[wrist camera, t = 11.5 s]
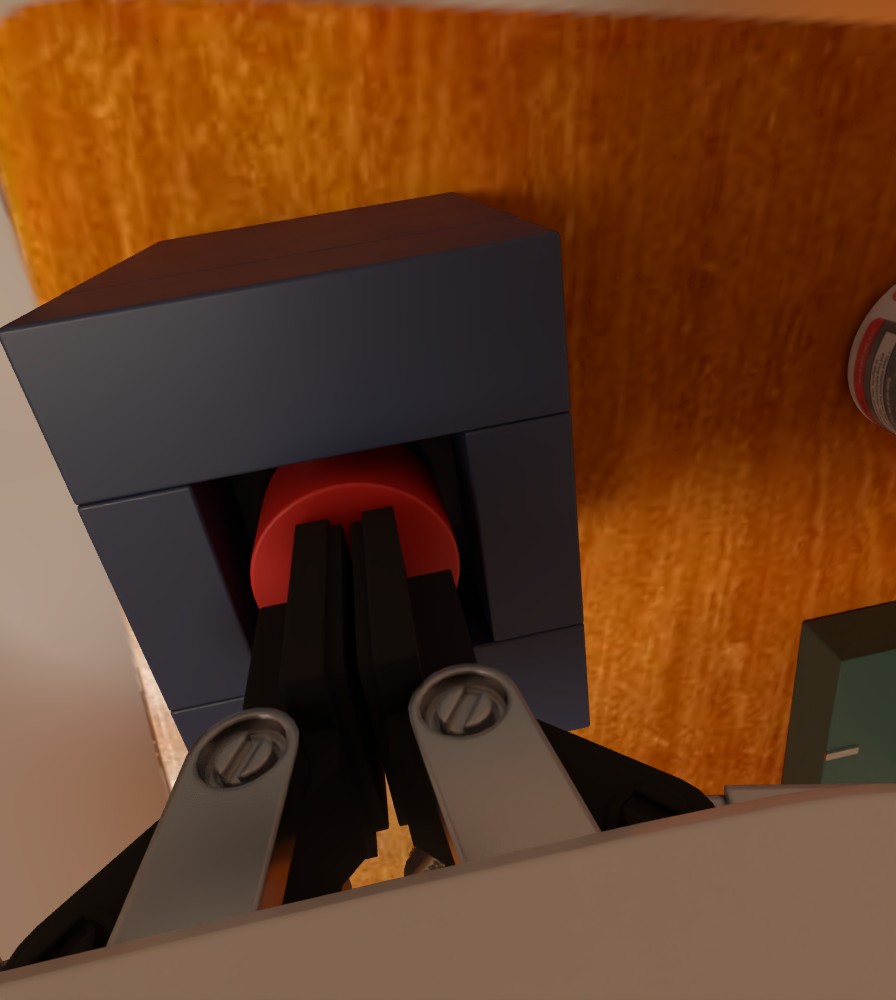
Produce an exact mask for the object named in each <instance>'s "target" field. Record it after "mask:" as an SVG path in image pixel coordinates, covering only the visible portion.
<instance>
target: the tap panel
mask: <svg viewBox="0 0 896 1000" xmlns="http://www.w3.org/2000/svg"><path fill="white" fill-rule="evenodd" d="M839 783H888V784H896V602H893V603H888V604H883V605H879V606H874V607H870V608H865V609H861V610H856V611H851V612H847V613H842V614H838V615H833V616H828V617H824V618H819V619H815V620H810V621H805V622H803V624H802V632H801V639H800V647H799V655H798V662H797V670H796V677H795V685H794V693H793V700H792V708H791V716H790V723H789V731H788V738H787V746H786V754H785V761H784V769H783V777H782V784H839Z"/></svg>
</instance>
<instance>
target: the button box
mask: <svg viewBox="0 0 896 1000" xmlns="http://www.w3.org/2000/svg"><path fill="white" fill-rule="evenodd" d="M0 342H1V344H2V346H3V348H4V350H5V352H6V355H7V357H8V359H9V361H10V363H11V366H12V368H13V370H14V372H15V374H16V376H17V378H18V381H19V383H20V385H21V387H22V389H23V392H24V394H25V396H26V398H27V400H28V403H29V405H30V407H31V409H32V411H33V413H34V416H35V418H36V420H37V422H38V424H39V426H40V429H41V431H42V433H43V435H44V437H45V440H46V442H47V444H48V446H49V448H50V450H51V453H52V455H53V457H54V459H55V461H56V463H57V466H58V468H59V470H60V472H61V475H62V477H63V479H64V481H65V483H66V485H67V487H68V490H69V492H70V494H71V496H72V498H73V501H74V502H75V504H76V505H79V506H78V512H79V514H80V516H81V518H82V521H83V523H84V525H85V527H86V530H87V532H88V534H89V536H90V538H91V540H92V543H93V545H94V547H95V549H96V551H97V554H98V556H99V558H100V560H101V562H102V564H103V567H104V569H105V571H106V573H107V575H108V578H109V580H110V582H111V584H112V586H113V588H114V591H115V593H116V595H117V597H118V599H119V601H120V604H121V606H122V608H123V610H124V612H125V615H126V617H127V619H128V621H129V623H130V625H131V628H132V630H133V632H134V634H135V636H136V639H137V641H138V643H139V645H140V647H141V649H142V652H143V654H144V656H145V658H146V660H147V662H148V665H149V667H150V669H151V671H152V673H153V676H154V678H155V680H156V682H157V684H158V686H159V689H160V691H161V693H162V695H163V697H164V700H165V702H166V704H167V706H168V708H169V710H171V715H172V717H173V719H174V721H175V724H176V726H177V728H178V730H179V732H180V734H181V737H182V739H183V741H184V743H185V745H186V748H187V750H188V752H189V751H190V749H191V747H192V746H193V744H194V742H195V741H196V740H197V739H198V738H199V737H200V736H201V735H202V734H203V733H204V732H205V731H206V730H207V729H208V728H209V727H211V726H212V725H214V724H215V723H217V722H218V721H220V720H221V719H223V718H225V717H227V716H230V715H232V714H234V713H236V712H239V711H242V709H243V703H244V697H245V691H246V685H247V679H248V673H249V667H250V661H251V655H252V649H253V643H254V637H255V631H256V625H257V619H258V614H259V610H260V609H259V607H258V605H257V602H256V600H255V598H254V595H253V591H252V587H251V579H250V566H251V558H252V553H253V548H254V543H255V538H256V533H257V528H258V522H259V517H260V512H261V507H262V502H263V498H264V494H265V490H266V488H267V485H268V483H269V481H270V479H271V477H272V476H273V474H274V472H275V471H276V470H277V468H278V467H280V466H286V465H291V464H296V463H301V462H306V461H312V460H317V459H322V458H327V457H333V456H338V455H343V454H348V453H353V452H359V451H364V450H369V449H374V448H379V447H385V446H390V445H395V444H401V445H403V446H405V447H406V448H408V449H409V450H411V451H412V452H413V453H415V454H416V455H417V456H418V457H419V458H420V459H421V460H422V461H423V462H424V463H425V464H426V466H427V467H428V468H429V469H430V471H431V473H432V474H433V476H434V478H435V479H436V482H437V484H438V487H439V489H440V492H441V496H442V499H443V502H444V505H445V508H446V512H447V515H448V518H449V521H450V524H451V527H452V531H453V534H454V537H455V540H456V543H457V548H458V552H459V558H460V574H459V581H458V585H457V592H458V596H459V600H460V603H461V607H462V610H463V614H464V618H465V621H466V625H467V628H468V632H469V635H470V639H471V643H472V646H473V650H474V653H475V657H476V661H477V664H484V665H488V666H492V667H495V668H497V669H499V670H500V671H502V672H504V673H506V674H507V675H508V676H509V677H510V678H511V679H512V681H513V682H514V683H515V684H516V686H517V687H518V689H519V691H520V692H521V694H522V696H523V698H524V699H525V701H526V703H527V704H528V706H529V708H530V710H531V711H532V713H533V715H534V717H535V718H536V719H539V720H541V721H543V722H546V723H548V724H551V725H553V726H555V727H558V728H560V729H563V730H565V731H571V730H576V729H580V728H585V727H588V726H589V725H590V718H589V701H588V685H587V668H586V652H585V635H584V624H583V620H584V619H583V602H582V586H581V569H580V553H579V536H578V520H577V503H576V487H575V470H574V454H573V437H572V421H571V413H570V412H569V410H570V390H569V374H568V357H567V341H566V324H565V308H564V292H563V275H562V259H561V242H560V235H559V233H558V232H556V231H553V230H551V229H548V228H545V227H543V226H540V225H537V224H535V223H532V222H529V221H527V220H524V219H521V218H518V217H517V216H515V215H512V214H509V213H507V212H504V211H501V210H499V209H496V208H493V207H490V206H488V205H485V204H482V203H480V202H477V201H474V200H472V199H469V198H466V197H463V196H461V195H458V194H455V193H453V192H450V193H444V194H439V195H433V196H427V197H421V198H415V199H409V200H403V201H397V202H391V203H385V204H379V205H373V206H367V207H361V208H355V209H349V210H344V211H338V212H332V213H326V214H320V215H314V216H308V217H302V218H296V219H290V220H284V221H278V222H272V223H266V224H260V225H254V226H248V227H243V228H237V229H231V230H225V231H219V232H213V233H207V234H201V235H195V236H189V237H183V238H177V239H171V240H165V241H159V242H157V243H156V244H154V245H152V246H150V247H148V248H146V249H144V250H143V251H141V252H139V253H137V254H135V255H133V256H131V257H130V258H128V259H126V260H124V261H122V262H120V263H118V264H117V265H115V266H113V267H111V268H109V269H107V270H106V271H104V272H102V273H100V274H98V275H96V276H94V277H93V278H91V279H89V280H87V281H85V282H83V283H81V284H80V285H78V286H76V287H74V288H72V289H70V290H68V291H67V292H65V293H63V294H61V295H60V296H58V297H56V298H55V299H53V300H51V301H49V302H47V303H45V304H43V305H42V306H40V307H38V308H36V309H34V310H32V311H31V312H29V313H27V314H25V315H23V316H21V317H20V318H18V319H16V320H14V321H12V322H10V323H9V324H7V325H5V326H3V327H1V328H0Z"/></svg>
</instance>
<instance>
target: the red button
mask: <svg viewBox="0 0 896 1000" xmlns="http://www.w3.org/2000/svg"><path fill="white" fill-rule="evenodd" d="M389 506H393V509H394V514H395V519H396V523H397V528H398V533H399V538H400V543H401V548H402V552H403V557H404V562H405V567H406V572H407V577H413V576H418V575H423V574H428V573H433V572H438V571H443V570H448V569H451V571H452V575H453V578H454V582H455V585H456V589H457V585H458V581H459V574H460V558H459V552H458V548H457V543H456V540H455V537H454V534H453V531H452V527H451V524H450V521H449V518H448V515H447V512H446V508H445V505H444V502H443V499H442V496H441V492H440V489H439V487H438V484H437V482H436V479H435V478H434V476H433V474H432V473H431V471H430V469H429V468H428V467H427V466H426V464H425V463H424V462H423V461H422V460H421V459H420V458H419V457H418V456H417V455H416V454H415V453H413V452H412V451H411V450H409V449H408V448H406V447H405V446H403V445H401V444H395V445H390V446H385V447H379V448H374V449H369V450H364V451H359V452H353V453H348V454H343V455H338V456H333V457H327V458H322V459H317V460H312V461H306V462H301V463H296V464H291V465H286V466H280V467H278V468H277V470H276V471H275V472H274V474H273V476H272V477H271V479H270V481H269V483H268V485H267V488H266V490H265V494H264V498H263V502H262V507H261V512H260V517H259V522H258V528H257V533H256V538H255V543H254V548H253V553H252V558H251V566H250V579H251V587H252V591H253V595H254V598H255V600H256V602H257V605H258V607H259V609H261V608H262V607H266V606H271V605H276V604H281V603H286V602H287V598H288V588H289V579H290V570H291V560H292V551H293V541H294V532H295V526H296V525H297V524H302V523H307V522H312V521H317V520H323V519H328V520H329V522H330V525H331V526H335V525H340V524H342V526H343V529H344V533H345V537H346V541H347V545H348V549H349V553H350V557H351V561H352V565H353V560H352V537H351V522H355V521H360V520H362V512H363V511H368V510H373V509H378V508H383V507H389Z"/></svg>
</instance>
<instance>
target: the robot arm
mask: <svg viewBox="0 0 896 1000" xmlns="http://www.w3.org/2000/svg"><path fill="white" fill-rule="evenodd" d="M351 537H352V560H353V565H352V561H351V557H350V553H349V549H348V545H347V541H346V537H345V533H344V529H343V526H342V524H340V525H335V526H331V525H330V522H329V520H328V519H323V520H317V521H312V522H307V523H302V524H297V525H296V526H295V532H294V541H293V551H292V560H291V570H290V579H289V588H288V598H287V602H286V603H281V604H276V605H271V606H266V607H262V608H261V609H260V610H259V614H258V619H257V625H256V631H255V637H254V643H253V649H252V655H251V661H250V667H249V673H248V679H247V685H246V691H245V697H244V703H243V709H242V711H239V712H236V713H234V714H232V715H230V716H227V717H225V718H223V719H221V720H220V721H218V722H217V723H215V724H214V725H212V726H211V727H209V728H208V729H207V730H206V731H205V732H204V733H203V734H202V735H201V736H200V737H199V738H198V739H197V740H196V741H195V742H194V744H193V746H192V747H191V749H190V751H189V752H188V754H187V756H186V758H185V761H184V763H183V765H182V768H181V770H180V772H179V775H178V777H177V780H176V782H175V784H174V787H173V789H172V791H171V794H170V796H169V798H168V801H167V803H166V806H165V808H164V810H163V813H162V815H161V818H160V819H159V820H158V821H157V822H155V823H154V824H153V825H152V826H151V827H150V828H149V829H147V830H146V831H145V832H144V833H143V834H142V835H141V836H140V837H138V838H137V839H136V840H135V841H134V842H133V843H132V844H130V845H129V846H128V847H127V848H126V849H125V850H124V851H122V852H121V853H120V854H119V855H118V856H117V857H116V858H114V859H113V860H112V861H111V862H110V863H109V864H108V865H106V866H105V867H104V868H103V869H102V870H101V871H100V872H98V873H97V874H96V875H95V876H94V877H93V878H92V879H91V880H90V881H88V882H87V883H86V884H85V885H84V886H83V887H82V888H80V889H79V890H78V891H77V892H76V893H75V894H73V896H71V897H70V898H69V899H68V900H67V901H65V902H64V903H63V904H62V905H61V906H60V907H59V908H58V909H56V910H55V911H54V912H53V913H52V914H51V915H50V916H48V917H47V918H46V919H45V920H44V921H43V922H42V923H40V925H38V926H37V927H36V928H35V929H34V930H33V931H32V932H31V933H30V934H29V935H28V936H27V937H26V938H25V940H23V942H22V943H21V944H20V945H19V946H18V947H17V949H16V950H15V952H14V953H13V954H12V956H11V957H10V959H8V960H6V961H4V962H3V961H2V959H1V958H0V1000H896V784H888V783H839V784H777V785H724V795H704V794H703V793H702V792H701V791H700V790H699V789H697V788H696V787H694V786H692V785H690V784H689V783H687V782H685V781H683V780H682V779H680V778H677V777H675V776H672V775H670V774H668V773H665V772H663V771H660V770H658V769H656V768H653V767H651V766H649V765H646V764H644V763H641V762H639V761H637V760H634V759H632V758H629V757H627V756H625V755H622V754H620V753H617V752H615V751H613V750H610V749H608V748H606V747H603V746H601V745H598V744H596V743H594V742H591V741H589V740H586V739H584V738H582V737H579V736H577V735H574V734H572V733H570V732H567V731H565V730H563V729H560V728H558V727H555V726H553V725H551V724H548V723H546V722H543V721H541V720H539V719H536V718H535V717H534V715H533V713H532V711H531V710H530V708H529V706H528V704H527V703H526V701H525V699H524V698H523V696H522V694H521V692H520V691H519V689H518V687H517V686H516V684H515V683H514V682H513V681H512V679H511V678H510V677H509V676H508V675H507V674H506V673H504V672H502V671H500V670H499V669H497V668H495V667H492V666H488V665H484V664H477V661H476V657H475V653H474V650H473V646H472V643H471V639H470V635H469V632H468V628H467V625H466V621H465V618H464V614H463V610H462V607H461V603H460V600H459V596H458V592H457V589H456V585H455V582H454V578H453V575H452V571H451V569H448V570H443V571H438V572H433V573H428V574H423V575H418V576H413V577H407V572H406V567H405V562H404V557H403V552H402V548H401V543H400V538H399V533H398V528H397V523H396V519H395V514H394V509H393V506H389V507H383V508H378V509H373V510H368V511H363V512H362V520H360V521H355V522H351ZM385 774H386V778H387V782H388V785H389V789H390V793H391V797H392V800H393V804H394V808H395V811H396V815H397V819H398V822H399V825H400V826H404V825H408V826H409V830H410V834H411V838H412V841H413V845H414V846H415V847H417V848H419V849H420V850H422V851H424V852H425V853H427V854H428V855H430V856H432V857H433V858H435V859H437V860H438V861H440V862H441V863H443V865H444V868H440V869H436V870H432V871H427V872H423V873H419V874H414V875H410V876H406V877H401V878H397V879H393V880H388V881H384V882H380V883H376V884H371V885H367V886H363V887H358V888H354V889H352V886H351V883H350V880H349V878H350V876H351V875H352V874H353V873H354V872H355V870H356V869H357V868H358V867H359V866H360V864H361V863H362V862H363V861H364V860H365V859H369V858H373V857H378V854H377V838H376V832H377V831H382V830H386V829H388V828H389V819H388V807H387V794H386V782H385Z"/></svg>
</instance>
